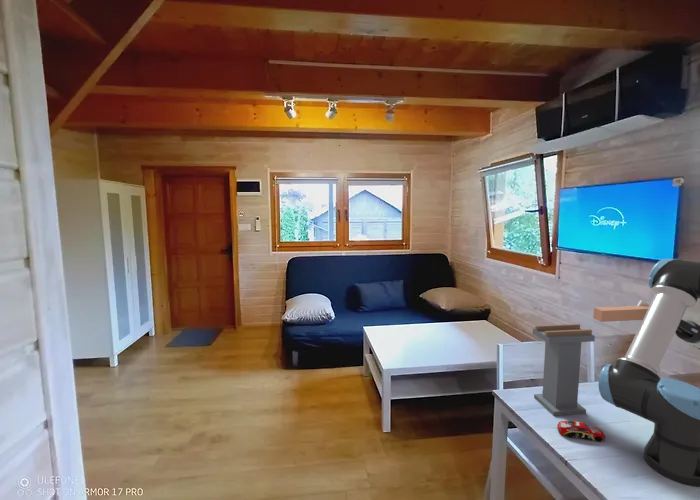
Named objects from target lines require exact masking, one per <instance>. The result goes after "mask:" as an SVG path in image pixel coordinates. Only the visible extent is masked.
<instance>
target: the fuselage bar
mask: <svg viewBox="0 0 700 500" xmlns="http://www.w3.org/2000/svg"><path fill="white" fill-rule="evenodd" d="M649 306H650V304H649V305H644V306H637V305H625V306H624V305H623V306H605V307H603V306H602V307H601V306H599V307H593V317H592V318H593V320H596V321H599V322H603V323H605V322H607V323H608V322H624V321H625V322H628V321H643V319H644V317H645V314H646V312H647V310H648V308H649Z"/></svg>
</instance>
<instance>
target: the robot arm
mask: <svg viewBox="0 0 700 500" xmlns="http://www.w3.org/2000/svg"><path fill="white" fill-rule="evenodd" d="M648 286H649V288H650V290H651V291H650V293H652V295H653V298H652V300H651V302H650V304H649V303H647V302H645V301H644V300H641V299H640V300H639V302H638V303H637V305H636V306H644V305H650V306H649V308H648V310H647V312H646V314H645V317H644V319H643V320H641V323H640V325H639V327H638V329H637V331H636V333H635V335H634V337H633V340H632V342H631V343H630V345H629V348H628V350H627V351H626V354H625V355H624V357H619V358H617V359H616V360H615V362H614V364H612V363H610V364H608V363H607V364H605V366H603V367H602V368H601V371H600V373H599V376H598V390H599V393H600V396H601V398H602V400H604V402H606V403H609V404H611V405H613V406H615V407H616V408H619V409H622V410H625V411H627V412H628V413H632V414H633V415H636V416H639V417H640V418H643V419H645V420H646V421H649V422H651V423H653V425H654V426H653V433H652V434H651V436H650V438H649V440H648V441H647V443H646V444H645V446H644V449H643V450H644V451H643V458H644V461H645V462H646V463H647V465H648V466H649V467H650V468H652V469H653V470H654V471H655V472H658V473H659V474H661V475H662V476H664V477H666V478H669V479H670V480H673V481H674V482H679V483H681V484H684V485H688V486H693V487H700V388H698V387H697V386H695V385H692V384H690V383H687V382H685V381H682V380H679V379H678V380H675V379H674V378H662V377H661V375H660V374H659V372H658V370H659V368H660V365H662V362H663V360H664V358H665V355H666V353H667V351H668V349H669V347H670V344H671V342H672V340H673V338H674V336H677V338H679V339H680V340H682V341H684V342H686V343H688V344H689V345H691V347H692V348H693V349H694V348H696V349H698V350H700V324H698V323H696V322H695V321H694V320H684V319H683V317H684V314H685V313H686V310H687V308H690V307H693V306H695V305H696V303H697V302H698V300H699V299H700V261H697V260H685V259H682V258H663V259H660V260H659V261H657V263H655V264H654V265H653V267H652V268H651V270H650V272H649V278H648Z"/></svg>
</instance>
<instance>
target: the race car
mask: <svg viewBox="0 0 700 500" xmlns="http://www.w3.org/2000/svg"><path fill="white" fill-rule="evenodd" d="M556 429H557V430H558V433H559V434H560V435H562V436H564V437H567V438H570V439H573V438H574V439H581V440H589V441H595V442H598V443H601V442H603V441H605V439H606V438H605V437H606V435H605V433H604V431H603V430H601V428H599V427H596V426H592V425H589V424H587V423H585V422H583V421H580V420H579V421H578V420H561V421H558V423H557V427H556Z"/></svg>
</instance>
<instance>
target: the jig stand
mask: <svg viewBox="0 0 700 500" xmlns="http://www.w3.org/2000/svg"><path fill="white" fill-rule="evenodd" d="M592 333H593V330H592V329H590V328H588V329H583V328H582V329H581V323H568V324H567V323H566V324H546V325H545V324H543V325H540V324H539V325H535V327H533V328H532V334H533V335H534V336H536V337H538V338H539V339H541V340H543V341H544V342H545V343H544V360H543V362H544V363H543V364H544V365H543V381H542V382H543V383H542V393H535V394H534V395H533V399H535V400H536V401H537V403H539V404H540V405H541V406H542V407H543V408H544V409H546V410H547V411H548V412H549V413H550V414H551V415H552V416H554V417H555V416H556V417H557V416H571V415H585V414H587V409H586V408H585V407H584V406H583V405H581V404H580V403H578V400H579V399H578V398H579V396H578V395H579V386H580V383H579V381H580V369H581V353H582V343H584V342H585V343H586V342H587V343H588V342H590V343H591V342H592V343H593V342H595V341H596V339H595V338H596V336H595V335H594V334H592Z"/></svg>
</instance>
